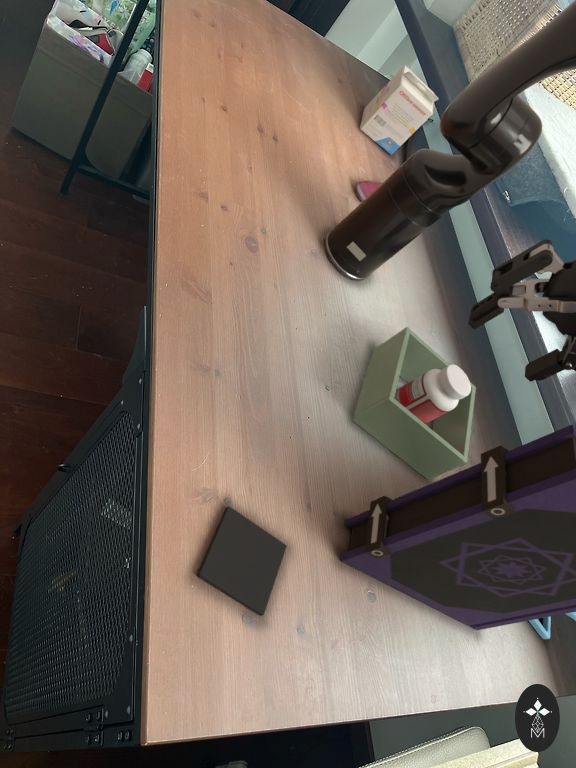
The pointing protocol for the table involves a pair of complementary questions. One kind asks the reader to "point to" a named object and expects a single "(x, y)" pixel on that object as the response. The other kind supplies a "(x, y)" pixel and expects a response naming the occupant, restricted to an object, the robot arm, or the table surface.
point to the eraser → (366, 189)
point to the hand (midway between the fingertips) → (499, 348)
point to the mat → (242, 561)
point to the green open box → (397, 423)
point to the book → (482, 536)
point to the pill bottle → (434, 392)
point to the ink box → (398, 110)
